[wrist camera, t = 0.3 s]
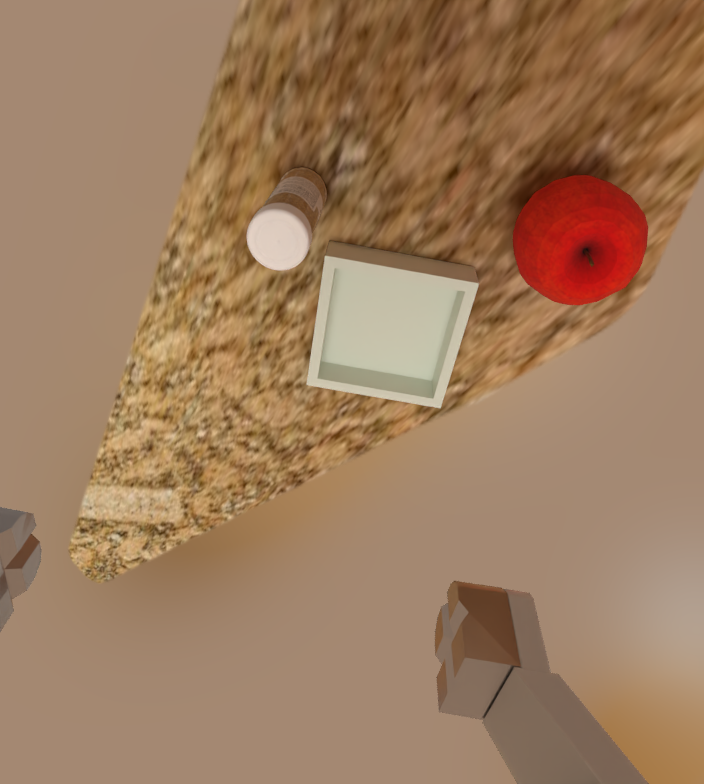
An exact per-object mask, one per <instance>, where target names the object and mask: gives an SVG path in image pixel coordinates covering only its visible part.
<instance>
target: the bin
mask: <svg viewBox="0 0 704 784" xmlns="http://www.w3.org/2000/svg"><path fill="white" fill-rule="evenodd" d="M478 286H479V281H478V278H477V274H476V271H475V268H474V267H473V266H467V265H462V264H456V263H451V262H445V261H440V260H434V259H429V258H423V257H418V256H412V255H407V254H402V253H396V252H391V251H385V250H380V249H374V248H369V247H363V246H358V245H352V244H347V243H341V242H336V241H330V240H329V244H328V247H327V251H326V254H325V259H324V266H323V273H322V280H321V287H320V294H319V301H318V308H317V315H316V322H315V329H314V336H313V343H312V350H311V357H310V364H309V371H308V378H307V385H309V386H315V387H321V388H327V389H332V390H338V391H344V392H350V393H356V394H361V395H367V396H373V397H379V398H384V399H390V400H396V401H402V402H407V403H413V404H419V405H425V406H430V407H436V408H441V405H442V402H443V399H444V395H445V392H446V389H447V386H448V383H449V379H450V376H451V373H452V370H453V366H454V363H455V360H456V357H457V353H458V350H459V347H460V344H461V341H462V337H463V334H464V331H465V328H466V324H467V321H468V318H469V315H470V312H471V308H472V305H473V302H474V299H475V295H476V292H477V289H478Z"/></svg>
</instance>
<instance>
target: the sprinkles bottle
mask: <svg viewBox="0 0 704 784" xmlns="http://www.w3.org/2000/svg"><path fill="white" fill-rule="evenodd" d="M326 199H327V190H326V186H325V184H324V182H323V180H322V178H321V177H320V175H318V174H317V173H316V172H314V171H312V170H311V169H308V168H304V167H300V168H294V169H291V170H290V171H288V172H287V173H285V174H284V176H283V177H282V178H281V180H280V182H279V184H278V185H277V187H276V188H275V189H274V191H273V192H272V194H271V195H270V197H269V198H268V200H267V201H266V202H265V204H264V206H263V207H262V208H261V209H260V210H259V211H258V212H257V213H256V214H255V216H254V217H253V219H252V220H251V222H250V224H249V227H248V230H247V244H248V247H249V250H250V252H251V253H252V255H253V256H254V258H255V259H256V260H257V261H258V262H259V263H261V264H262V265H263V266H265V267H267V268H270V269H273V270H288V269H291V268H294V267H295V266H297V265H299V264H300V263H301V262H302V261H303V260H304V258H305V257H306V255H307V253H308V250H309V248H310V245H311V241H312V233H313V231H314V230H315V227H316V225H317V223H318V220H319V218H320V215H321V212H322V209H323V207H324V206H325V203H326Z"/></svg>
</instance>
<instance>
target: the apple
mask: <svg viewBox="0 0 704 784" xmlns="http://www.w3.org/2000/svg"><path fill="white" fill-rule="evenodd" d="M647 236H648V225H647V221H646V217H645V215H644V213H643V212H642V210H641V209H640V207H639V206H638V204H637V203H636V202H635V201H634V200H633V198H632V197H631V196H630V195H628V194H627V193H625V192H624V191H622V190H621V189H619V188H618V187H616V186H615V185H613V184H612V183H610V182H607V181H604V180H601V179H598V178H595V177H593V176H588V175H573V176H569V177H566V178H562V179H558V180H554V181H553V182H551V183H550V184H548V185H546V186H545V187H543V188H541V189H540V190H538V191H536V192H535V193H534V194H533V196H532V197H531V198H530V199H529V201H528V202H527V203H526V205H525V206H524V207H523V209H522V211H521V212H520V214H519V216H518V218H517V221H516V224H515V228H514V231H513V247H514V255H515V258H516V262H517V265H518V269H519V272H520V274H521V276H522V277H523V278H524V280H525V281H526V282H527V284H528V285H530V286H531V287H533V288H534V289H535V290H537V291H538V292H539V293H541V294H542V295H543V296H545V297H547V298H549V299H550V300H552V301H554V302H558V303H562V304H567V305H583V304H587V303H592V302H597V301H599V300H601V299H603V298H605V297H607V296H609V295H611V294H613V293H615V292H617V291H619V290H621V289H623V288H625V287H626V286H627V284H628V283H629V282H630V281H631V279H632V278H633V277H634V275H635V274H636V273H637V272H638V270H639V268H640V266H641V264H642V261H643V257H644V254H645V250H646V247H647Z"/></svg>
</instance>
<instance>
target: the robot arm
mask: <svg viewBox="0 0 704 784" xmlns="http://www.w3.org/2000/svg"><path fill="white" fill-rule="evenodd" d="M35 527H36V523H35V519H34V515H33V514H32V513H28V512H23V511H17V510H12V509H7V508H2V507H0V631H1V630H2V628H3V627H4V625H5V624H6V622H7V620H8V619H9V618H10V616H11V614H12V613H13V611H14V609H13V603H12V599H13V598H15V597H17V596H18V595H20V594H22V593H23V592H25V591H27V589H28V588H29V586H30V585H31V583H32V581H33V580H34V578H35V576H36V573H37V570H38V567H39V565H40V562H41V561H40V560H41V546H40V542H39V541H38V540H37V539H36V538H35V537H34V536H33V535H32V534H31V533H32V531H33V530H34V528H35ZM447 597H448V603H447V604H445V605H443V606H442V607H441V609H440V612H439V615H438V618H437V624H436V629H435V655H436V657H437V658H438V659H439V661H440V662H441V664H442V666H441V669H440V671H439V673H438V675H437V688H438V689H437V690H438V705H439V712H442V713H448V714H453V715H459V716H465V717H470V718H475V719H480V720H483V722H482V723H483V724H484V726H485V728H486V729H487V731H488V733H489V735H490V737H491V738H492V740H493V742H494V744H495V745H496V747H497V749H498V751H499V752H500V754H501V756H502V758H503V759H504V761H505V763H506V765H507V767H508V768H509V770H510V772H511V774H512V775H513V777H514V779H515V781H516V782H517V784H648V782H647V781H646V780H645V779H644V777H643V776H642V775H641V774H640V773H639V771H638V770H637V769H636V768H635V767H634V765H633V764H632V763H631V762H630V760H629V759H628V758H627V757H626V756H625V754H624V753H623V752H622V751H621V750H620V748H619V747H618V746H617V745H616V744H615V742H614V741H613V740H612V739H611V737H610V736H609V735H608V734H607V732H606V731H605V730H604V729H603V728H602V726H601V725H600V724H599V723H598V722H597V720H596V719H595V718H594V717H593V716H592V714H591V713H590V712H589V711H588V709H587V708H586V707H585V706H584V704H583V703H582V702H581V701H580V700H579V698H578V697H577V696H576V695H575V694H574V692H573V691H572V690H571V689H570V687H569V686H568V685H567V684H566V683H565V681H564V680H563V679H562V678H561V677H560V675H559V674H555V673H551V671H550V667H549V662H548V658H547V654H546V650H545V645H544V641H543V637H542V633H541V629H540V625H539V621H538V616H537V612H536V608H535V603H534V599H533V597H532V596H531V594H530V593H527V592H520V591H514V590H508V589H502V588H499V587H492V586H485V585H479V584H472V583H465V582H459V581H453V582H452V583H451V584H450V587H449V589H448V592H447Z"/></svg>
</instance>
